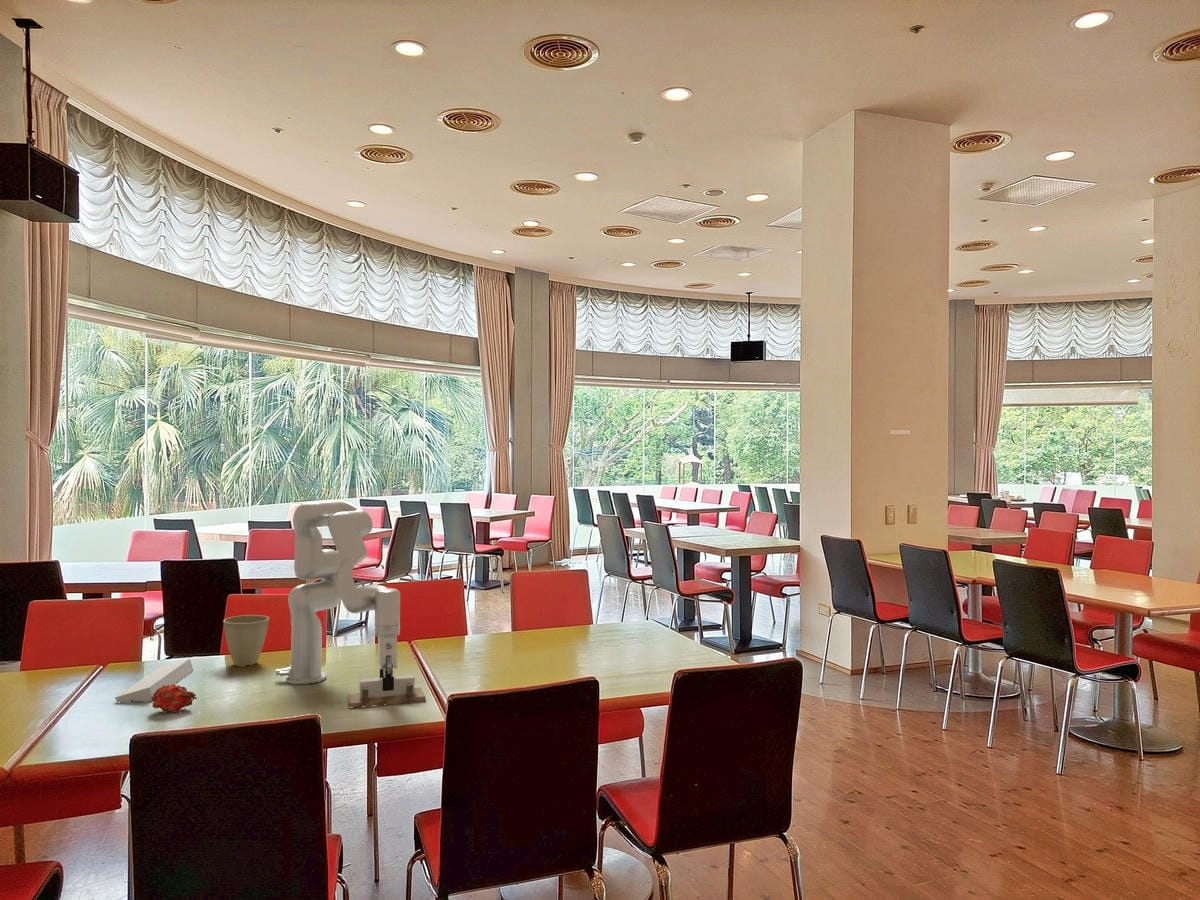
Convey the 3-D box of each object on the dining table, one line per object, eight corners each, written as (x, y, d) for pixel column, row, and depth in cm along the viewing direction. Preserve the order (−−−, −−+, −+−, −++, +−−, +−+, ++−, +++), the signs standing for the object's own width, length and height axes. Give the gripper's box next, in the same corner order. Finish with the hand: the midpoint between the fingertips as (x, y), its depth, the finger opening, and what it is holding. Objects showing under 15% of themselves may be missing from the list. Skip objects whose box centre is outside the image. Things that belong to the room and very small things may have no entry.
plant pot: (248, 670, 275) (249, 624, 275) (213, 667, 279) (213, 621, 279) (277, 660, 289) (278, 616, 290) (243, 657, 294) (243, 613, 294)
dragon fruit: (148, 717, 231) (193, 720, 234) (143, 707, 225) (189, 710, 227) (157, 688, 236) (201, 692, 239) (153, 677, 230) (198, 681, 232)
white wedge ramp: (119, 712, 239) (153, 702, 240) (114, 697, 239) (149, 687, 240) (163, 680, 273) (193, 672, 274) (159, 667, 273) (189, 658, 274)
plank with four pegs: (349, 708, 235) (349, 691, 235) (347, 698, 245) (348, 682, 245) (425, 701, 243) (425, 684, 243) (420, 692, 252) (421, 676, 252)
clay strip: (360, 698, 240) (360, 682, 240) (359, 696, 243) (359, 679, 243) (414, 693, 245) (414, 677, 245) (413, 691, 248) (413, 675, 248)
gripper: (403, 634, 237) (402, 692, 237) (396, 623, 253) (396, 677, 253) (376, 636, 235) (376, 695, 234) (372, 624, 251) (371, 679, 251)
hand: (386, 686), depth 244 cm, fingers open, 9 cm apart
